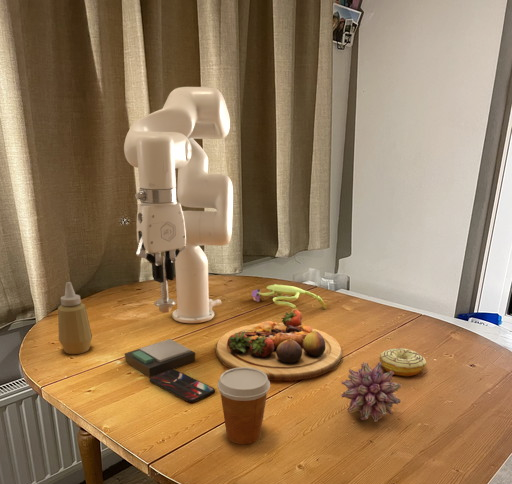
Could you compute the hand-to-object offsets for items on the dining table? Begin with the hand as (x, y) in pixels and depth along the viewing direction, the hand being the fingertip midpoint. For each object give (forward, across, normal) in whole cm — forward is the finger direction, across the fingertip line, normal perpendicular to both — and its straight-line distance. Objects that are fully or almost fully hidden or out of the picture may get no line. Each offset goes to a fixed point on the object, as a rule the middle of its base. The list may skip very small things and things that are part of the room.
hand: (163, 279), depth 112 cm
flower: (+22, +16, -46) cm, 53 cm away
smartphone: (+22, -4, -11) cm, 24 cm away
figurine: (+23, +55, +12) cm, 60 cm away
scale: (+22, 0, +3) cm, 22 cm away
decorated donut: (+22, +40, -39) cm, 60 cm away
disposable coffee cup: (+21, -6, -34) cm, 41 cm away
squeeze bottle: (+22, -12, +23) cm, 34 cm away
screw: (+8, 0, 0) cm, 8 cm away
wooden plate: (+22, +25, -13) cm, 35 cm away
